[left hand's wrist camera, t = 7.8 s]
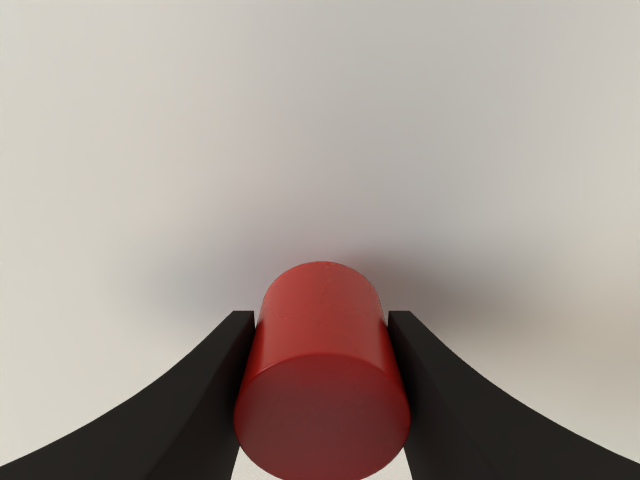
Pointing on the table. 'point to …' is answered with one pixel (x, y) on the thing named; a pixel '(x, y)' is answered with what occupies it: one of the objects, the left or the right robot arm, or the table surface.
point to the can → (321, 380)
